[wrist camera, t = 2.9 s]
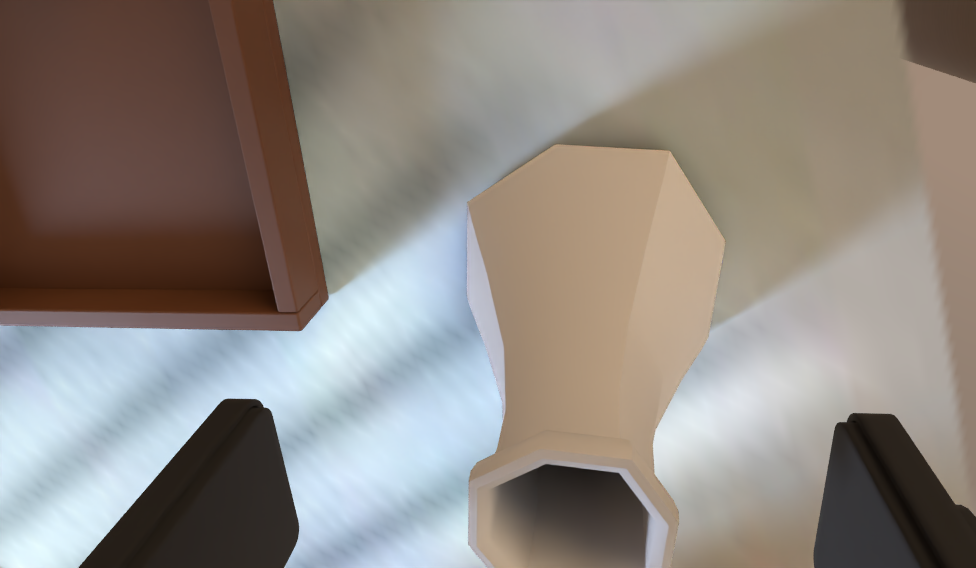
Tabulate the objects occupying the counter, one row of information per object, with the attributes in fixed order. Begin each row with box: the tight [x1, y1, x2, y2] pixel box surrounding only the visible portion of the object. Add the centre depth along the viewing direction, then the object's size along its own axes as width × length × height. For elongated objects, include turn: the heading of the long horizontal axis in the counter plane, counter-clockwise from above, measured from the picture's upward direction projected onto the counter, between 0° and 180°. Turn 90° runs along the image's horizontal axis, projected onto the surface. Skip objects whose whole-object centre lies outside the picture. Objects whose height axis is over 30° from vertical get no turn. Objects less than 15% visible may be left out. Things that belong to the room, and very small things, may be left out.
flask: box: [467, 144, 726, 568], centre depth 14 cm, size 7×7×10 cm
